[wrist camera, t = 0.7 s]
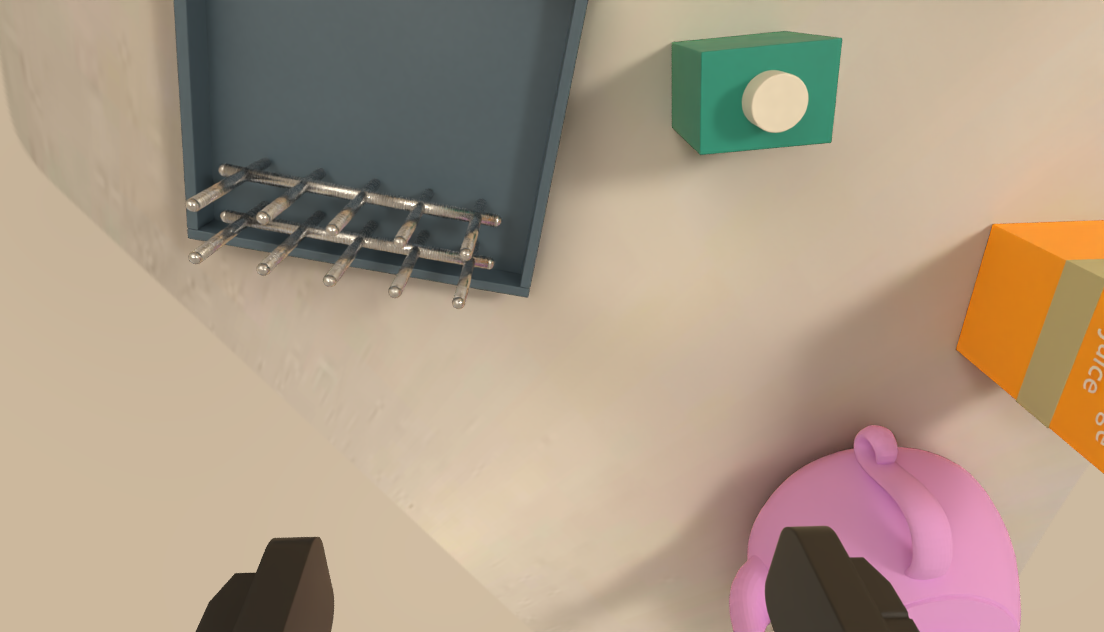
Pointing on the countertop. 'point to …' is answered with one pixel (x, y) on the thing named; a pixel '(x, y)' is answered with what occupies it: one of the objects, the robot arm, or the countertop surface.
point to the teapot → (895, 535)
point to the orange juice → (1044, 325)
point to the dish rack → (344, 224)
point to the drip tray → (381, 117)
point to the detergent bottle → (755, 91)
